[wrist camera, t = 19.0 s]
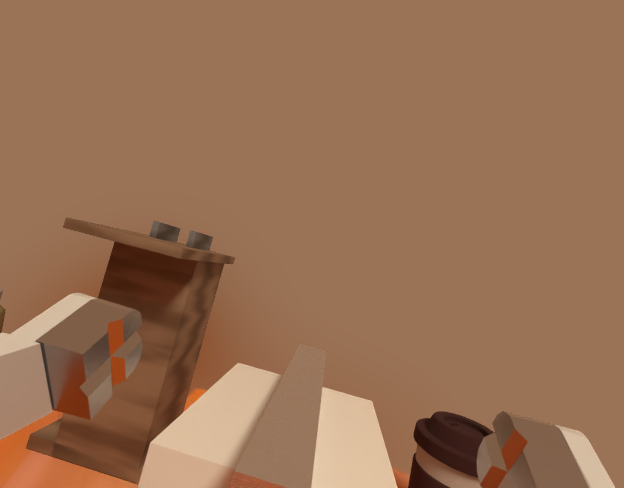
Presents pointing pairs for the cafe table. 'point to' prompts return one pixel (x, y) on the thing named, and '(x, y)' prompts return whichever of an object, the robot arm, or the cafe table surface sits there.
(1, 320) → the squeeze bottle
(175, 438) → the cream tilted cube
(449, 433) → the coffee cup
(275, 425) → the brushed metal block
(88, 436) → the walnut stand
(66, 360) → the robot arm
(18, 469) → the cafe table surface
